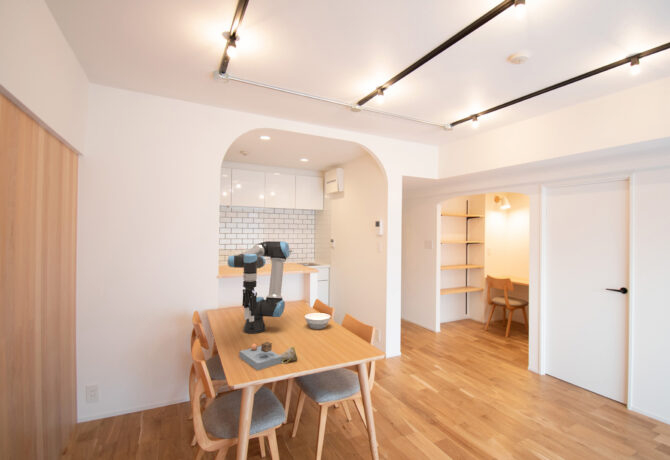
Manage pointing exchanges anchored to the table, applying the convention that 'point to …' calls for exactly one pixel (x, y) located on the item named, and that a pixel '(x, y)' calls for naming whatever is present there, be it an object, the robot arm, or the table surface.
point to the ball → (253, 346)
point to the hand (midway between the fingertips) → (249, 320)
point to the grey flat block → (260, 358)
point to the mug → (288, 355)
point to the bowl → (317, 320)
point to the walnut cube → (266, 347)
